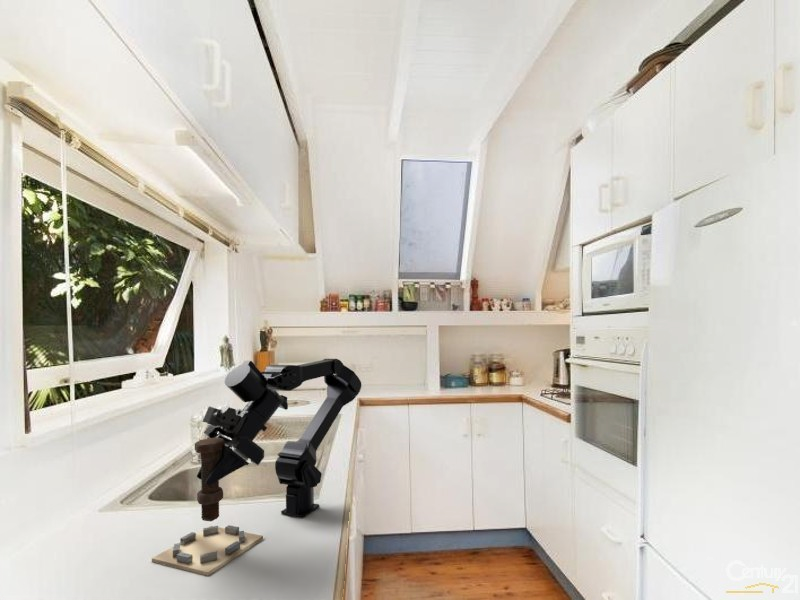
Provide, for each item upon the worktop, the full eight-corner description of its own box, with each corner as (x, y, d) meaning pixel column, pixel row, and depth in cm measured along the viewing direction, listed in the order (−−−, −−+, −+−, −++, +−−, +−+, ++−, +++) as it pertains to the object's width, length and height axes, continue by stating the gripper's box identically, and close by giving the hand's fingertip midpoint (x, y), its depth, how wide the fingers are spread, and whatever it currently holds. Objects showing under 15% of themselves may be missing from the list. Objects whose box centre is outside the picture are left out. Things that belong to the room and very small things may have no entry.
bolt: (213, 510, 88) (212, 436, 89) (231, 514, 86) (230, 438, 87) (188, 523, 83) (188, 443, 84) (207, 527, 81) (206, 446, 81)
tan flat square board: (211, 528, 93) (211, 525, 93) (263, 538, 87) (263, 535, 88) (151, 561, 80) (151, 558, 80) (208, 575, 75) (208, 572, 75)
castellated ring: (211, 527, 92) (211, 521, 92) (258, 536, 87) (257, 530, 87) (157, 557, 80) (157, 550, 81) (208, 569, 76) (208, 562, 76)
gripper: (213, 387, 95) (157, 449, 87) (247, 394, 82) (185, 469, 73) (248, 417, 100) (198, 478, 92) (286, 429, 86) (232, 502, 78)
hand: (202, 481), depth 84 cm, fingers closed on bolt, 5 cm apart
